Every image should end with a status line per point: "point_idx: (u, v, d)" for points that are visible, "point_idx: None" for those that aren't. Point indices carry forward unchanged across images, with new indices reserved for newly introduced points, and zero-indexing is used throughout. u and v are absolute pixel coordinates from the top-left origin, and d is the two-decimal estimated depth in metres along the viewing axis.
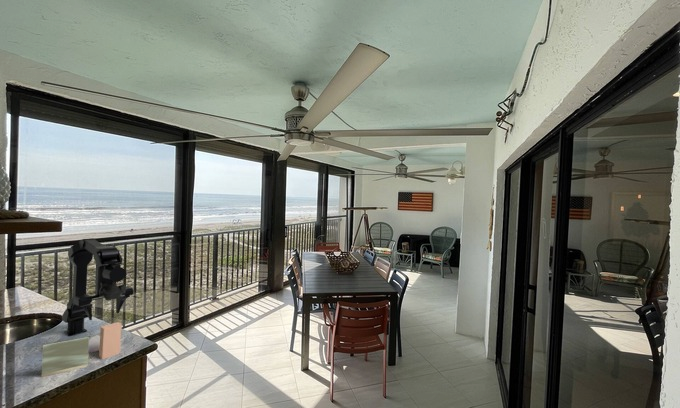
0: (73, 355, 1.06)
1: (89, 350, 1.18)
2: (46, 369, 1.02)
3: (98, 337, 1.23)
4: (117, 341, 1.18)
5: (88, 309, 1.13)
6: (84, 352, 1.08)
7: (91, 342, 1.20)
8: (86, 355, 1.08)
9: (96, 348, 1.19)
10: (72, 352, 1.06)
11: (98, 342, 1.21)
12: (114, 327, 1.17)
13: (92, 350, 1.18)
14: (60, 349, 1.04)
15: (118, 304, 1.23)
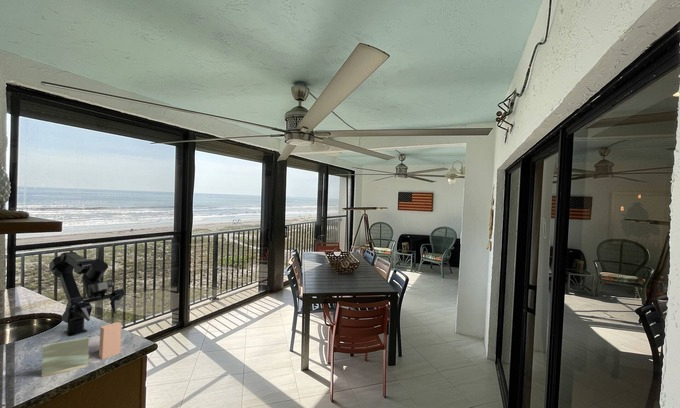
0: (73, 355, 1.06)
1: (89, 350, 1.18)
2: (46, 369, 1.02)
3: (98, 337, 1.23)
4: (117, 341, 1.18)
5: (82, 308, 1.17)
6: (84, 352, 1.08)
7: (91, 342, 1.20)
8: (86, 355, 1.08)
9: (96, 348, 1.19)
10: (72, 352, 1.06)
11: (98, 342, 1.21)
12: (114, 327, 1.17)
13: (92, 350, 1.18)
14: (60, 349, 1.04)
15: (113, 306, 1.26)
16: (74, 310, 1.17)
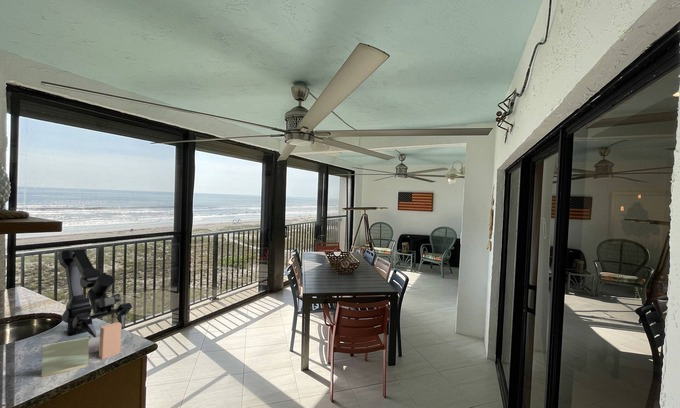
0: (73, 355, 1.06)
1: (88, 351, 1.18)
2: (46, 369, 1.02)
3: (97, 338, 1.23)
4: (117, 341, 1.18)
5: (89, 325, 1.14)
6: (84, 352, 1.08)
7: (90, 343, 1.20)
8: (86, 355, 1.08)
9: (95, 349, 1.19)
10: (72, 352, 1.06)
11: (97, 343, 1.21)
12: (114, 327, 1.17)
13: (91, 351, 1.18)
14: (60, 349, 1.04)
15: (120, 321, 1.23)
16: (80, 327, 1.14)
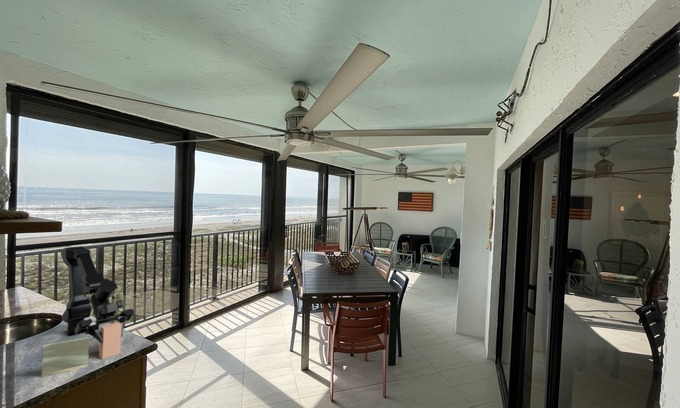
0: (73, 355, 1.06)
1: (88, 351, 1.17)
2: (46, 369, 1.02)
3: None
4: (117, 341, 1.18)
5: (96, 330, 1.14)
6: (84, 352, 1.08)
7: (90, 343, 1.20)
8: (86, 355, 1.08)
9: (95, 349, 1.19)
10: (72, 352, 1.06)
11: (97, 343, 1.21)
12: (114, 327, 1.17)
13: (91, 351, 1.18)
14: (60, 349, 1.04)
15: None
16: (87, 332, 1.14)
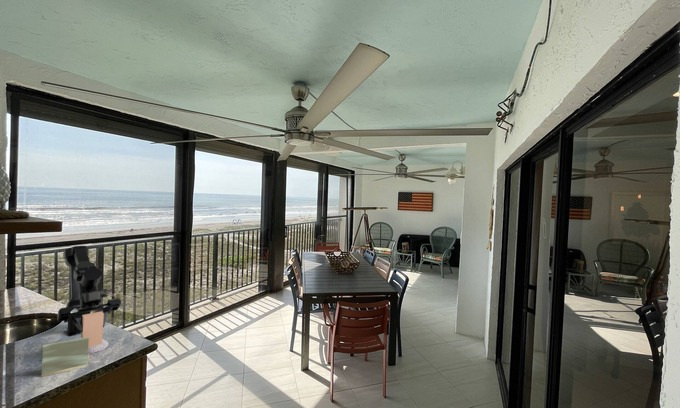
0: (73, 355, 1.06)
1: None
2: (46, 369, 1.02)
3: None
4: (99, 331, 1.13)
5: (76, 318, 1.10)
6: (84, 352, 1.08)
7: None
8: (86, 355, 1.08)
9: (94, 349, 1.18)
10: (72, 352, 1.06)
11: None
12: (95, 316, 1.12)
13: (90, 351, 1.17)
14: (60, 349, 1.04)
15: None
16: (69, 320, 1.11)
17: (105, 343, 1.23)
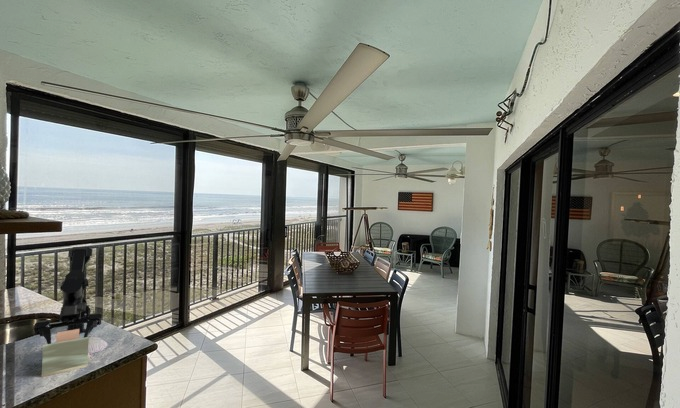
0: (73, 355, 1.06)
1: None
2: (46, 369, 1.02)
3: (95, 339, 1.22)
4: None
5: (46, 334, 1.05)
6: (84, 352, 1.08)
7: (88, 344, 1.19)
8: (86, 355, 1.08)
9: (93, 350, 1.18)
10: (72, 352, 1.06)
11: (95, 344, 1.20)
12: (69, 335, 1.07)
13: (89, 352, 1.17)
14: (60, 349, 1.04)
15: (85, 333, 1.11)
16: (41, 335, 1.06)
17: (104, 344, 1.23)
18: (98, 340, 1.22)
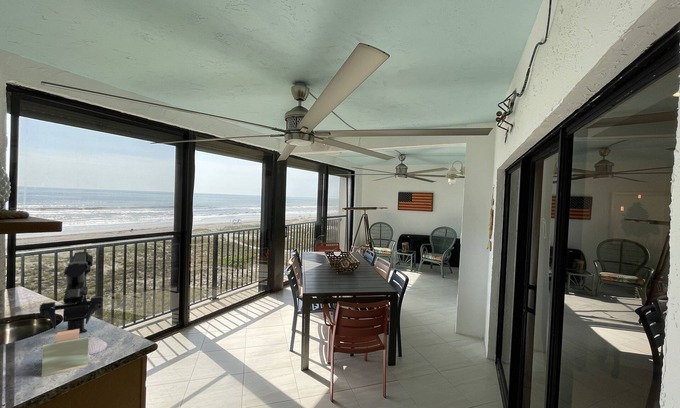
0: (73, 355, 1.06)
1: None
2: (46, 369, 1.02)
3: (94, 339, 1.21)
4: None
5: (51, 315, 1.12)
6: (84, 352, 1.08)
7: None
8: (86, 355, 1.08)
9: (93, 350, 1.17)
10: (72, 352, 1.06)
11: (94, 344, 1.19)
12: (69, 335, 1.07)
13: (89, 353, 1.16)
14: (60, 349, 1.04)
15: (87, 315, 1.18)
16: (46, 316, 1.13)
17: (104, 344, 1.22)
18: (98, 340, 1.21)
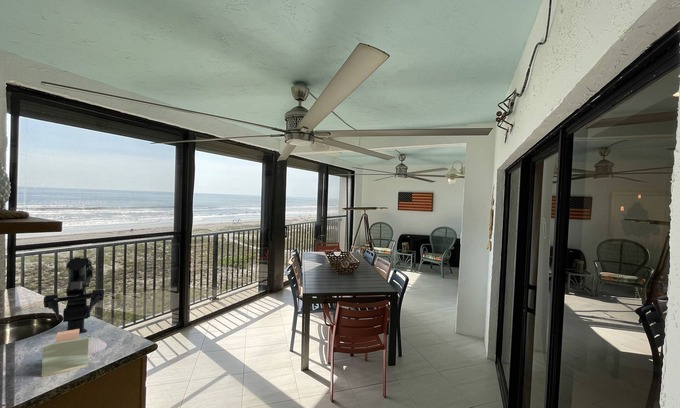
0: (73, 355, 1.06)
1: None
2: (46, 369, 1.02)
3: (94, 340, 1.21)
4: None
5: (54, 306, 1.17)
6: (84, 352, 1.08)
7: None
8: (86, 355, 1.08)
9: (92, 351, 1.17)
10: (72, 352, 1.06)
11: (94, 345, 1.19)
12: (69, 335, 1.07)
13: None
14: (60, 349, 1.04)
15: (89, 306, 1.24)
16: (49, 307, 1.19)
17: (103, 344, 1.22)
18: (97, 341, 1.21)
